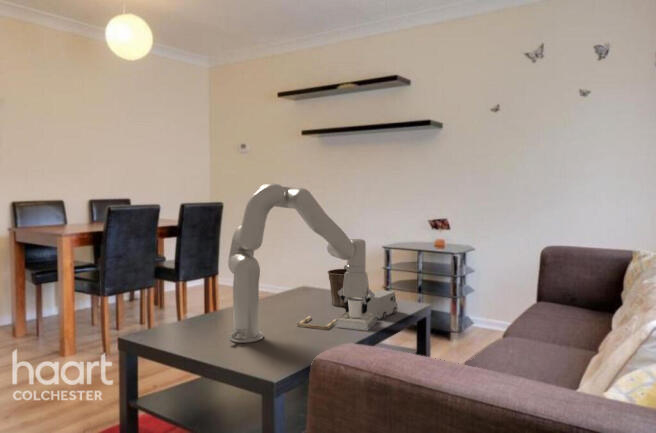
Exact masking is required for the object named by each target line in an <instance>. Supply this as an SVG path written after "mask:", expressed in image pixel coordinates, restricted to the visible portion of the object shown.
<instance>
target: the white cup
mask: <svg viewBox="0 0 656 433" xmlns="http://www.w3.org/2000/svg"><path fill="white" fill-rule="evenodd" d="M362 304H363V300H362V298H354V297H351V298H348V307H349V316H350V317H362V316H363V313H362Z"/></svg>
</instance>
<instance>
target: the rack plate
mask: <svg viewBox="0 0 656 433" xmlns="http://www.w3.org/2000/svg"><path fill="white" fill-rule="evenodd" d="M336 319H337V320H335V324H334V328H339V329H348V330H357V331H366V332H369V331H370V329H372V327H374V326H375V325H376V324H377V322H378V319H377V316H374V313H365V314H363V316H362V317H350V316H349V311H348V312H346V311H345V312H343V314H341V315H340V316H338V318H336Z"/></svg>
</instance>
